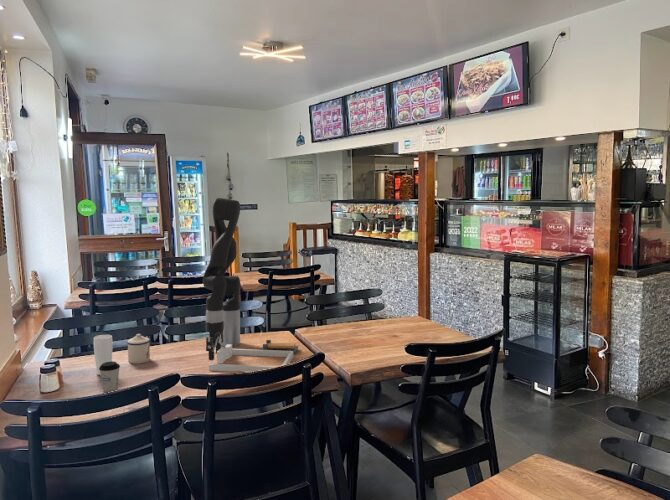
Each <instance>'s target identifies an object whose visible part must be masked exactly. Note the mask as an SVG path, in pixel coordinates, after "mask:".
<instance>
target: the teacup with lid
mask: <svg viewBox="0 0 670 500" xmlns="http://www.w3.org/2000/svg"><path fill="white" fill-rule="evenodd" d="M150 342H151V340H150V338H149V337H145V336H143V335H142V334H141V333H136V335H135V336H133V337H132V338H130V339H128V340H127V357H128V358H127V360H128V363H129V364H134V365H137V364H144V363H147V362H149V361H150V360H151V359H150V357H151V356H150V355H151V354H150Z"/></svg>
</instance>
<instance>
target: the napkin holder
mask: <svg viewBox="0 0 670 500" xmlns="http://www.w3.org/2000/svg"><path fill="white" fill-rule="evenodd" d="M232 349H233V346H232V344H227V345H226V346H221V348H220V349H219V350H218V351H217V354H216V364H224V362H225V361H226V360H227V359H230V358H231V357H232V356H233V355H232Z"/></svg>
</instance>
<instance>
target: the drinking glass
mask: <svg viewBox="0 0 670 500" xmlns="http://www.w3.org/2000/svg"><path fill="white" fill-rule="evenodd" d="M113 344H114V343H113V335H111V334H100V335H98V334H97V335H96V336H94V337H93V353H94V360H95V367H96V374H97V375H98V376H101V374H100V370H99V367H100V366H101V365H102V364H103V363H105V362H112V361H113V360H112V359H113Z"/></svg>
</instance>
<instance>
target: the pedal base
mask: <svg viewBox="0 0 670 500" xmlns="http://www.w3.org/2000/svg"><path fill="white" fill-rule="evenodd" d="M265 342H266V343H263V344H262V347H261V349H260V350H279V351H293V356H294V355H295V356H296V353H297V352H298V350H299V345H295V347H294V348H268V344H267V343H272V340H271V339H266V341H265Z"/></svg>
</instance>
